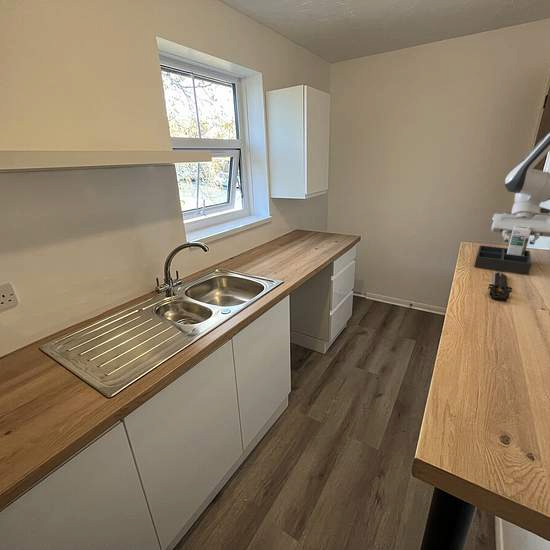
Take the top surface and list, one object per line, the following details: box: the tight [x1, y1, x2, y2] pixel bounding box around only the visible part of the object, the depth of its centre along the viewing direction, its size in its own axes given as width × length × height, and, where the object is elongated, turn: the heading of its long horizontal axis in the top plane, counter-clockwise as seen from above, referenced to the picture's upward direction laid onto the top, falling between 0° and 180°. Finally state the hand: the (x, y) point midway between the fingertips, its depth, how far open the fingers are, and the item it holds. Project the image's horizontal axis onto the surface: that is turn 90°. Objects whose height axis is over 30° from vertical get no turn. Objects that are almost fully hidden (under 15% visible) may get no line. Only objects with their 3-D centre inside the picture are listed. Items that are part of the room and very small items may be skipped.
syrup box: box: [507, 226, 532, 256], centre depth 122 cm, size 6×6×14 cm
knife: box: [488, 271, 513, 302], centre depth 105 cm, size 25×6×1 cm, turn 140°
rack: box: [473, 244, 532, 276], centre depth 123 cm, size 17×17×5 cm
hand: (518, 242), depth 121 cm, fingers open, 7 cm apart
